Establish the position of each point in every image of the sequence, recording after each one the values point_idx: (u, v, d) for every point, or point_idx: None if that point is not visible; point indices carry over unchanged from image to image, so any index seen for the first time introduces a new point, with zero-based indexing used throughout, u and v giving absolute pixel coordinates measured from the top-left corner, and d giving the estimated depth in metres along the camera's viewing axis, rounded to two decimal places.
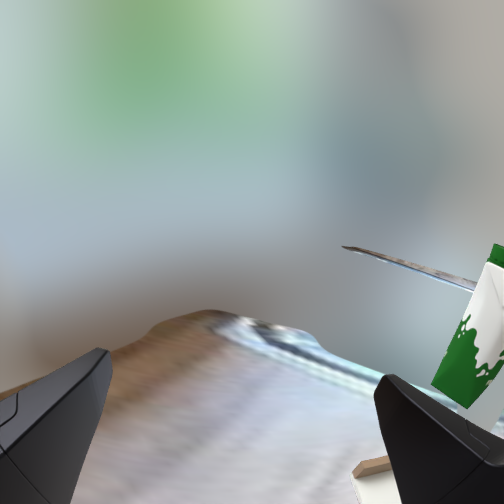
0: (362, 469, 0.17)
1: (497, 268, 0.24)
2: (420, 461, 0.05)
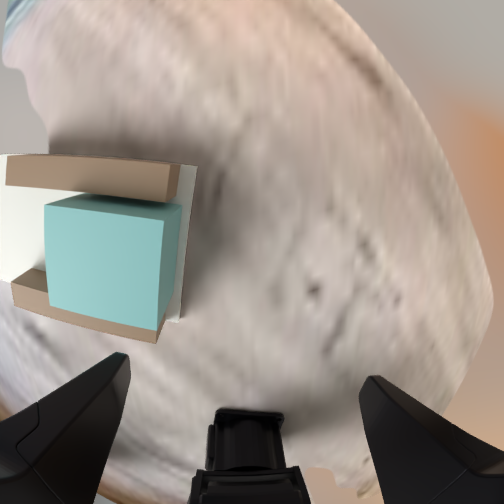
0: None
1: None
2: (404, 466, 0.05)
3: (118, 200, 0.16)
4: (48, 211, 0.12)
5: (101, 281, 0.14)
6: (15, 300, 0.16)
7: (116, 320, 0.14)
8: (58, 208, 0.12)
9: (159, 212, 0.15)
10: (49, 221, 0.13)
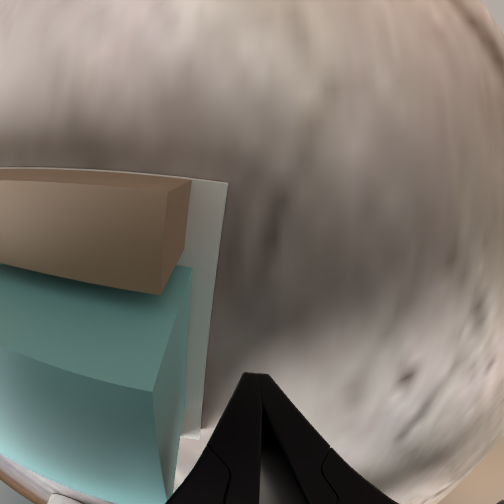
0: None
1: None
2: (269, 485, 0.05)
3: None
4: None
5: (45, 452, 0.04)
6: None
7: (93, 495, 0.05)
8: None
9: (138, 323, 0.05)
10: None
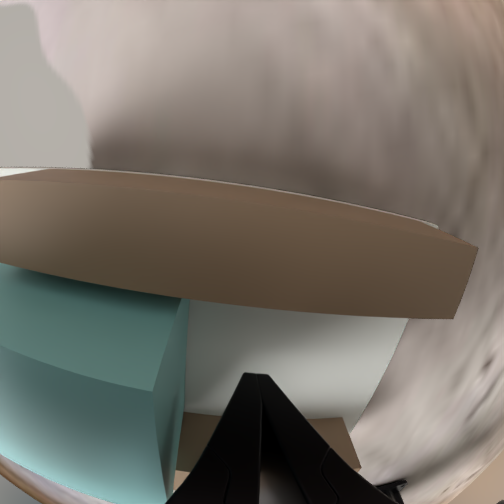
0: None
1: None
2: (269, 485, 0.05)
3: None
4: None
5: (45, 453, 0.04)
6: None
7: (93, 495, 0.05)
8: None
9: (138, 323, 0.05)
10: None
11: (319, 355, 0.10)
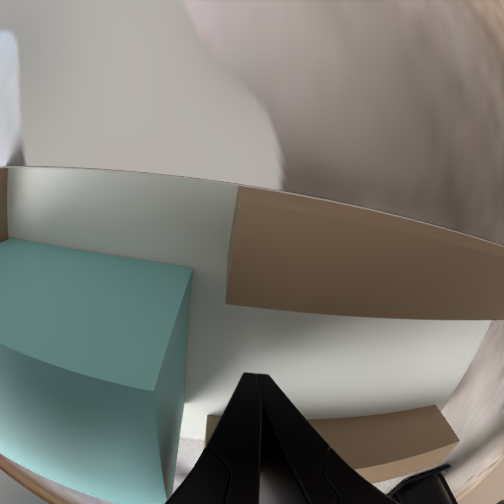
0: None
1: None
2: (269, 485, 0.05)
3: (56, 264, 0.07)
4: None
5: (45, 452, 0.04)
6: None
7: (93, 495, 0.05)
8: None
9: (139, 323, 0.05)
10: None
11: (438, 353, 0.10)
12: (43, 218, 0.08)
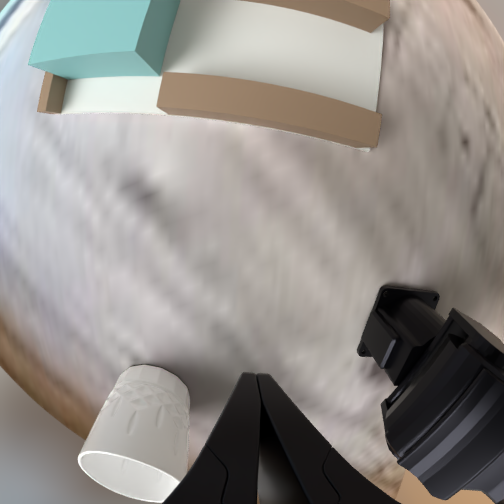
0: (46, 111, 0.13)
1: None
2: (270, 485, 0.05)
3: None
4: None
5: (91, 17, 0.09)
6: (162, 97, 0.13)
7: (93, 51, 0.10)
8: None
9: None
10: None
11: (336, 61, 0.15)
12: None
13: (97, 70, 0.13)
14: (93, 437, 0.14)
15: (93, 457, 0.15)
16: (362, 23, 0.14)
